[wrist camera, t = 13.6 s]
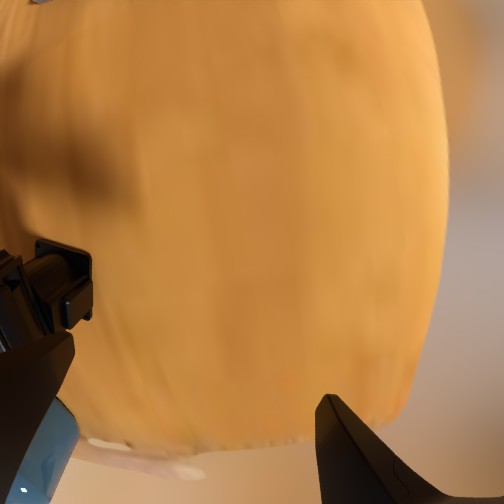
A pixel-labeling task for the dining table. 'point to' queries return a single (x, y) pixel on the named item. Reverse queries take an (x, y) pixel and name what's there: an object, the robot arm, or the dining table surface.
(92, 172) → the dining table surface
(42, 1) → the tray
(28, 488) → the wine bottle
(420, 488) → the robot arm
